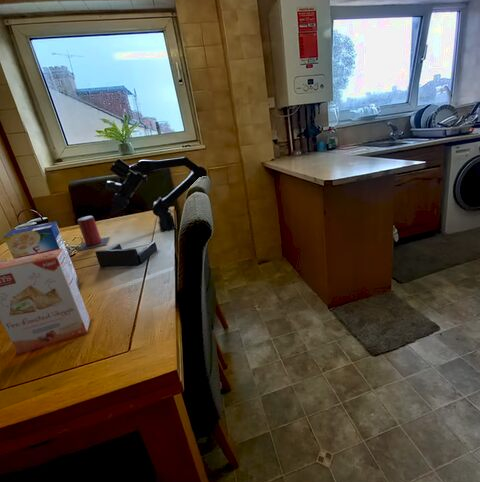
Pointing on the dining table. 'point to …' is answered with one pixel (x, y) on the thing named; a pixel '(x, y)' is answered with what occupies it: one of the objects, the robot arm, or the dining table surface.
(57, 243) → the blue white cardboard box
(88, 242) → the can
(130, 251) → the compartment
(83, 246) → the mat
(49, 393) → the dining table surface
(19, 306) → the cracker box
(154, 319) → the dining table surface
